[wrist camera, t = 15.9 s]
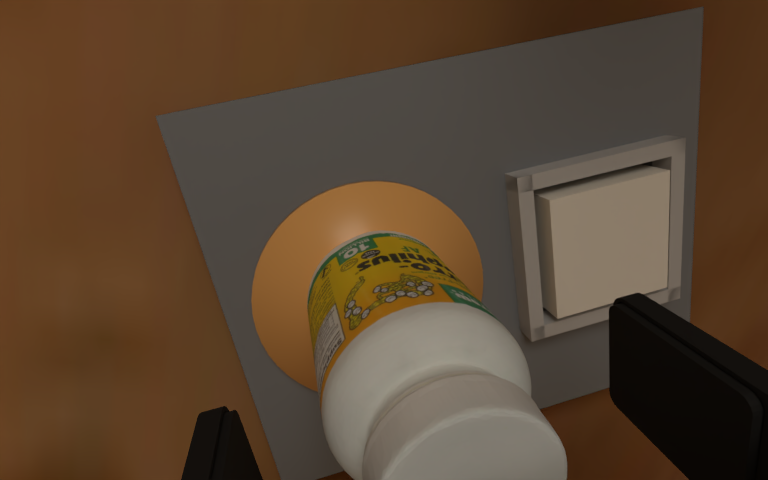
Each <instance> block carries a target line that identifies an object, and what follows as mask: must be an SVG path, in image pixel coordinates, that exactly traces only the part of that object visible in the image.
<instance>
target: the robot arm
mask: <svg viewBox="0 0 768 480" xmlns="http://www.w3.org/2000/svg"><path fill="white" fill-rule="evenodd" d="M609 391H610V396H611V398H612V401H613V402H614V404H615V405H616V406H617V408H618V409H619V410H620V411H621V412H622V413H623V414H624V415H625V416H626V417H627V418H628V419H629V420H630V421H631V422H632V423H633V424H634V425H635V426H636V427H637V428H638V429H639V430H640V431H641V432H642V433H643V434H644V435H645V436H646V437H647V438H648V439H649V440H650V441H651V442H652V443H653V444H654V445H655V446H656V447H657V448H658V449H659V450H660V451H661V452H662V453H663V454H664V455H665V456H666V457H667V458H668V459H669V460H670V461H671V462H672V463H673V464H674V465H675V466H676V467H677V468H678V469H679V470H680V471H681V472H682V473H683V474H684V475H685V476H686V477H687V478H688V479H689V480H768V370H766V369H765V368H763V367H761V366H760V365H758V364H756V363H755V362H753V361H751V360H750V359H748V358H747V357H745V356H743V355H742V354H740V353H738V352H737V351H735V350H733V349H732V348H730V347H729V346H727V345H725V344H724V343H722V342H720V341H719V340H717V339H716V338H714V337H712V336H711V335H709V334H707V333H706V332H704V331H702V330H701V329H699V328H698V327H696V326H694V325H693V324H691V323H689V322H688V321H686V320H684V319H683V318H681V317H680V316H678V315H676V314H675V313H673V312H671V311H670V310H668V309H667V308H665V307H663V306H662V305H660V304H658V303H657V302H655V301H653V300H652V299H650V298H649V297H647V296H645V295H644V294H641V293H634V294H630V295H627V296H623V297H620V298H617V299H615V301H614V303H613V306H611V307H610V308H609ZM181 480H263V479H262V476H261V474H260V471H259V468H258V466H257V463H256V460H255V457H254V455H253V452H252V449H251V447H250V444H249V441H248V439H247V436H246V433H245V431H244V428H243V425H242V423H241V420H240V417H239V415H238V412H237V411H236V410H233V411H230V412H229V410H228V408H227V407H225V406H223V407H220V408H216V409H212V410H209V411H205V412H201V413H200V414H199V415H198V418H197V422H196V426H195V430H194V433H193V437H192V441H191V445H190V448H189V452H188V456H187V460H186V463H185V467H184V471H183V475H182V479H181Z"/></svg>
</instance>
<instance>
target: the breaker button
mask: <svg viewBox="0 0 768 480" xmlns="http://www.w3.org/2000/svg"><path fill="white" fill-rule="evenodd" d="M533 191H534V204H535V217H536V229H537V242H538V255H539V267H540V280H541V293H542V305H543V307H544V308H545V309H546V310H548V311H549V312H550V313H551V314H552V315H554V316H555V317H556V318H557V319H559V318H562V317H566V316H569V315H573V314H576V313H580V312H583V311H587V310H590V309H593V308H597V307H600V306H604V305H607V304H611V303H614V301H615V299H617V298H620V297H623V296H627V295H630V294H634V293H641V294H646V293H649V292H653V291H656V290H660V289H663V288H666V287H667V277H668V236H669V195H670V170H666V169H662V168H657V167H652V166H647V165H642V164H638V165H634V166H630V167H626V168H622V169H618V170H614V171H610V172H606V173H602V174H598V175H593V176H589V177H585V178H581V179H577V180H573V181H569V182H565V183H561V184H557V185H553V186H549V187H545V188H541V189H537V190H533Z"/></svg>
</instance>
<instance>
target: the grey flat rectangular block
mask: <svg viewBox="0 0 768 480" xmlns="http://www.w3.org/2000/svg"><path fill="white" fill-rule="evenodd" d="M703 9H704V7H699V8H694V9H689V10H684V11H679V12H674V13H669V14H664V15H659V16H654V17H649V18H644V19H639V20H634V21H629V22H624V23H619V24H614V25H609V26H604V27H599V28H593V29H588V30H583V31H578V32H573V33H568V34H563V35H558V36H553V37H548V38H543V39H538V40H533V41H528V42H523V43H518V44H513V45H508V46H503V47H498V48H493V49H488V50H483V51H478V52H473V53H468V54H463V55H458V56H453V57H448V58H443V59H438V60H433V61H428V62H423V63H418V64H413V65H408V66H403V67H398V68H393V69H388V70H383V71H378V72H373V73H368V74H363V75H358V76H353V77H348V78H343V79H338V80H333V81H328V82H323V83H318V84H313V85H308V86H303V87H298V88H293V89H288V90H283V91H278V92H273V93H268V94H263V95H258V96H253V97H248V98H243V99H238V100H233V101H228V102H223V103H218V104H213V105H208V106H203V107H198V108H193V109H188V110H183V111H178V112H173V113H168V114H164V115H159V116H156V119H157V122H158V124H159V127H160V130H161V133H162V136H163V139H164V142H165V145H166V148H167V150H168V153H169V156H170V159H171V162H172V165H173V168H174V171H175V174H176V177H177V179H178V182H179V185H180V188H181V191H182V194H183V197H184V200H185V203H186V205H187V208H188V211H189V214H190V217H191V220H192V223H193V226H194V229H195V232H196V234H197V237H198V240H199V243H200V246H201V249H202V252H203V255H204V258H205V260H206V263H207V266H208V269H209V272H210V275H211V278H212V281H213V284H214V287H215V289H216V292H217V295H218V298H219V301H220V304H221V307H222V310H223V313H224V315H225V318H226V321H227V324H228V327H229V330H230V333H231V336H232V339H233V342H234V344H235V347H236V350H237V353H238V356H239V359H240V362H241V365H242V368H243V370H244V373H245V376H246V379H247V382H248V385H249V388H250V391H251V394H252V397H253V399H254V402H255V405H256V408H257V411H258V414H259V417H260V420H261V423H262V425H263V428H264V431H265V434H266V437H267V440H268V443H269V446H270V449H271V452H272V454H273V457H274V460H275V463H276V466H277V469H278V472H279V475H280V478H281V480H316V479H319V478H323V477H326V476H329V475H332V474H335V473H338V472H342V471H345V470H344V469H343V468H342V467H341V466H340V464H339V463H338V462H337V460H336V458H335V457H334V455H333V453H332V452H331V450H330V447H329V445H328V442H327V440H326V436H325V433H324V428H323V423H322V416H321V411H320V402H319V395H318V387H317V380H316V373H315V365H314V356H313V349H312V341H311V336H310V328H309V320H308V309H307V297H308V290H309V286H310V282H311V279H312V276H313V274H314V272H315V270H316V268H317V266H318V265H319V263H320V262H321V261H322V259H323V258H324V257H325V256H326V255H327V254H328V253H329V252H330V251H332V250H333V249H334V248H335V247H337V246H338V245H340V244H342V243H343V242H345V241H347V240H349V239H352V238H354V237H356V236H358V235H361V234H364V233H367V232H371V231H379V230H384V231H396V232H400V233H404V234H407V235H410V236H412V237H415V238H416V239H418V240H420V241H421V242H423V243H424V244H425V245H427V246H428V247H429V248H430V249H431V250H432V251H433V252H434V253H435V254H436V255H437V256H438V257H439V258H440V259H441V260H442V261H443V263H444V264H445V265H446V266H447V267H448V268H449V269H450V270H451V271H452V272H453V273H454V274H455V275H456V276H457V277H458V278H459V279H460V280H461V281H462V282H463V283H464V284H465V285H466V287H467V288H468V289H469V290H470V291H471V292H472V293H473V294H474V295H475V296H476V297H477V298H478V299H479V300H480V301H481V302H482V304H483V305H484V306H485V307H486V308H487V309H488V310H489V311H490V312H491V313H492V314H493V315H494V316H495V317H496V318H497V319H498V320H499V321H500V322H501V323H502V324H503V325H504V326H505V328H506V329H507V330H508V331H509V332H510V333H511V335H512V336H513V337H514V339H515V340H516V341H517V343H518V344H519V346H520V348H521V350H522V352H523V354H524V356H525V359H526V361H527V364H528V368H529V372H530V378H531V398H532V399H533V401H534V402H535V403H536V405H537V407H538V408H539V409H542V408H545V407H549V406H552V405H555V404H558V403H561V402H564V401H568V400H571V399H574V398H577V397H580V396H584V395H587V394H590V393H593V392H596V391H599V390H603V389H606V388H609V308H610V307H611V306H613V303H611V304H607V305H604V306H600V307H597V308H593V309H590V310H587V311H583V312H580V313H576V314H573V315H569V316H566V317H562V318H559V319H557V318H556V317H555V316H554V315H552V314H551V313H550V312H549V311H548V310H546V309H545V308H544V307H543V305H542V293H541V280H540V267H539V255H538V242H537V229H536V217H535V204H534V191H533V190H537V189H541V188H545V187H549V186H553V185H557V184H561V183H565V182H569V181H573V180H577V179H581V178H585V177H589V176H593V175H598V174H602V173H606V172H610V171H614V170H618V169H622V168H626V167H630V166H634V165H638V164H642V165H647V166H652V167H657V168H662V169H666V170H670V195H669V236H668V277H667V287H666V288H663V289H660V290H656V291H653V292H649V293H646V294H644V295H645V296H647V297H649V298H650V299H652V300H653V301H655V302H657V303H658V304H660V305H662V306H663V307H665V308H667V309H668V310H670V311H671V312H673V313H675V314H676V315H678V316H680V317H681V318H683V319H684V320H686V321H688V322H689V323H690V305H691V282H692V259H693V236H694V214H695V191H696V168H697V146H698V123H699V100H700V77H701V55H702V32H703Z"/></svg>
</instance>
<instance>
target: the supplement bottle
mask: <svg viewBox="0 0 768 480" xmlns="http://www.w3.org/2000/svg"><path fill="white" fill-rule="evenodd" d="M307 309H308V320H309V328H310V336H311V341H312V349H313V356H314V365H315V373H316V380H317V387H318V395H319V402H320V411H321V416H322V423H323V428H324V433H325V436H326V440H327V442H328V445H329V447H330V450H331V452H332V453H333V455H334V457H335V458H336V460H337V462H338V463H339V464H340V466H341V467H342V468H343V469H344V470H345V472H346V473H347V474H349V475H350V476H351V477H352V478H353V479H354V480H566V479H567V458H566V453H565V449H564V447H563V445H562V442H561V440H560V438H559V436H558V435H557V433H556V432H555V430H554V429H553V427H552V426H551V425H550V423H549V422H548V421H547V419H546V418H545V417H544V415H543V414H542V412H541V411H540V410H539V408H538V407H537V405H536V403H535V402H534V401H533V399H532V398H531V378H530V372H529V368H528V364H527V361H526V359H525V356H524V354H523V352H522V350H521V348H520V346H519V344H518V343H517V341H516V340H515V339H514V337H513V336H512V335H511V333H510V332H509V331H508V330H507V329H506V328H505V326H504V325H503V324H502V323H501V322H500V321H499V320H498V319H497V318H496V317H495V316H494V315H493V314H492V313H491V312H490V311H489V310H488V309H487V308H486V307H485V306H484V305H483V304H482V302H481V301H480V300H479V299H478V298H477V297H476V296H475V295H474V294H473V293H472V292H471V291H470V290H469V289H468V288H467V287H466V285H465V284H464V283H463V282H462V281H461V280H460V279H459V278H458V277H457V276H456V275H455V274H454V273H453V272H452V271H451V270H450V269H449V268H448V267H447V266H446V265H445V264H444V263H443V261H442V260H441V259H440V258H439V257H438V256H437V255H436V254H435V253H434V252H433V251H432V250H431V249H430V248H429V247H428V246H427V245H425V244H424V243H423V242H421V241H420V240H418V239H416V238H415V237H412V236H410V235H407V234H404V233H400V232H396V231H384V230H379V231H371V232H367V233H364V234H361V235H358V236H356V237H354V238H352V239H349V240H347V241H345V242H343V243H342V244H340V245H338V246H337V247H335V248H334V249H333V250H332V251H330V252H329V253H328V254H327V255H326V256H325V257H324V258H323V259H322V261H321V262H320V263H319V265H318V266H317V268H316V270H315V272H314V274H313V276H312V279H311V282H310V286H309V290H308V297H307Z"/></svg>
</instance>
